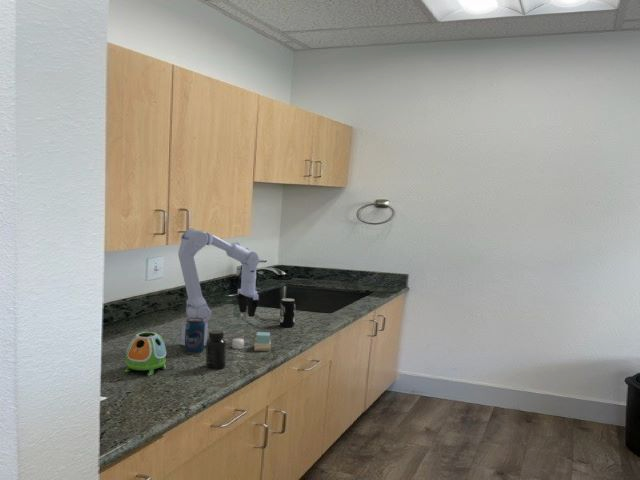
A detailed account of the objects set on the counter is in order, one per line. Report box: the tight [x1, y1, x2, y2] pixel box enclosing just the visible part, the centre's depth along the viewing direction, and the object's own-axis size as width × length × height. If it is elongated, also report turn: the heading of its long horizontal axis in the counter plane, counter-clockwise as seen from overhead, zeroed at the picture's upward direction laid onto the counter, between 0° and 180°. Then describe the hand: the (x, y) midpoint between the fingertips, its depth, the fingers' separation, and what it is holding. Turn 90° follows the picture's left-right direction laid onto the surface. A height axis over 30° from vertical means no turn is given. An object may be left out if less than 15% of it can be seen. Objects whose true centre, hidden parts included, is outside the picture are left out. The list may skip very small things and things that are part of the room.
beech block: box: [254, 338, 272, 352], centre depth 226 cm, size 6×6×3 cm
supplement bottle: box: [205, 329, 227, 370], centre depth 200 cm, size 7×7×12 cm
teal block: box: [255, 331, 271, 344], centre depth 226 cm, size 5×5×3 cm
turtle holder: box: [125, 331, 167, 377], centre depth 195 cm, size 12×18×12 cm
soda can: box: [184, 317, 205, 355], centre depth 217 cm, size 7×7×12 cm
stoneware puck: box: [231, 337, 245, 350], centre depth 226 cm, size 4×4×3 cm
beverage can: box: [279, 297, 296, 328], centre depth 264 cm, size 7×7×12 cm
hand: (247, 314), depth 239 cm, fingers open, 7 cm apart
